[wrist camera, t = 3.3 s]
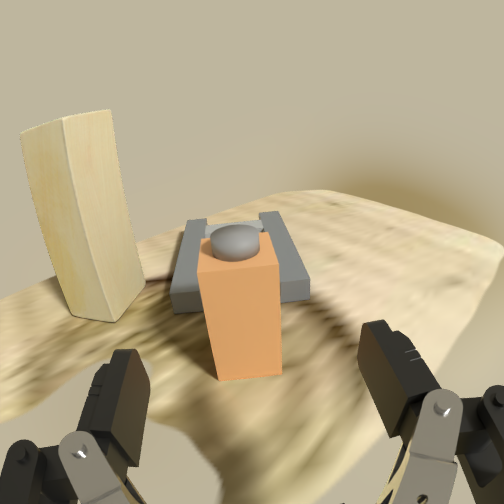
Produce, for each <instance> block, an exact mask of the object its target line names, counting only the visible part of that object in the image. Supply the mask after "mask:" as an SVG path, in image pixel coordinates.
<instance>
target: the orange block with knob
mask: <svg viewBox="0 0 504 504" xmlns="http://www.w3.org/2000/svg"><path fill="white" fill-rule="evenodd" d="M197 277H198V282H199V288H200V293H201V298H202V303H203V308H204V313H205V318H206V323H207V328H208V333H209V338H210V343H211V347H212V352H213V357H214V361H215V366H216V370H217V375H218V379H219V381H226V380H237V379H246V378H256V377H264V376H272V375H280V374H282V345H281V308H280V277H279V263H278V260H277V257H276V254H275V251H274V248H273V245H272V242H271V239H270V236H269V233H268V232H262V233H259V231H258V229H257V228H255V227H253V226H249V225H240V224H239V225H229V226H224V227H221V228H219V229H217V230H215V231H213V232H212V233H211V235H210V238H205V239H201V244H200V251H199V259H198V267H197Z"/></svg>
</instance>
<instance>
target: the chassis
mask: <svg viewBox="0 0 504 504" xmlns="http://www.w3.org/2000/svg"><path fill="white" fill-rule="evenodd" d="M239 224H240V225H249V226H253V227H255V228H257V229H258V231H259V233H262V232H268V233H269V236H270V239H271V242H272V245H273V248H274V251H275V254H276V257H277V260H278V263H279V277H280V303H284V302H292V301H300V300H308V299H310V277H309V275H308V273H307V271H306V269H305V266H304V264H303V262H302V260H301V258H300V256H299V254H298V251H297V249H296V247H295V245H294V243H293V241H292V239H291V237H290V235H289V232H288V230H287V228H286V226H285V224H284V222H283V220H282V218H281V216H280V214H279V212H278V211H273V212H263V213H259V220H254V221H244V222H235V223H225V224H216V225H207V218H205V219H196V220H188V221H187V224H186V227H185V231H184V235H183V239H182V243H181V247H180V251H179V255H178V259H177V263H176V267H175V271H174V275H173V280H172V284H171V288H170V293H169V295H170V299H171V303H172V307H173V311H174V314H177V313H189V312H200V311H204V308H203V303H202V298H201V293H200V288H199V282H198V277H197V267H198V259H199V251H200V244H201V239H205V238H210V235H211V233H212V232H213V231H215V230H217V229H219V228H221V227H224V226H229V225H239Z"/></svg>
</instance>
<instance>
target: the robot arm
mask: <svg viewBox="0 0 504 504" xmlns="http://www.w3.org/2000/svg"><path fill="white" fill-rule="evenodd" d="M357 359H358V365H359V369H360V371H361V373H362V376H363V378H364V380H365V382H366V385H367V387H368V389H369V391H370V394H371V396H372V398H373V400H374V403H375V405H376V407H377V410H378V412H379V414H380V416H381V419H382V421H383V423H384V426H385V428H386V431H387V433H388V435H389V437H390V438H392V437H396V436H399V435H400V436H401V438H402V441H403V442H402V444H401V446H400V449H399V452H398V455H397V458H396V460H395V463H394V465H393V468H392V470H391V473H390V475H389V478H388V480H387V483H386V485H385V487H384V489H383V491H382V493H381V495H380V497H379V498H378V500H377V502H376V504H448V503H449V499H450V496H451V492H452V489H453V485H454V481H455V478H456V473H457V463H456V462H454V455H457V457H458V459H459V461H460V464H461V467H462V469H463V471H464V474H465V476H466V479H467V482H468V484H469V487H470V489H471V492H472V494H473V497H474V500H475V503H476V504H504V386H501V385H495V386H492V387H489V388H488V389H487V390H486V392H485V394H484V395H483V397H476V398H459V396H458V395H457V394H455V393H454V392H452V391H450V390H446V389H442V388H441V387H440V385H439V384H438V382H437V381H436V379H435V377H434V376H433V374H432V373H431V371H430V369H429V368H428V366H427V365H426V363H425V362H424V360H423V359H421V356H420V354H419V352H418V351H417V350H416V348H415V346H414V345H413V343H412V342H411V340H410V339H409V338H408V337H407V336H405V335H404V334H402V333H401V332H400V331H393V332H392V330H391V329H390V327H389V326H388V324H387V323H386V321H385V320H377V321H372V322H367V323H364V324H363V325H362V329H361V336H360V342H359V348H358V355H357ZM91 386H92V387H90V390H89V393H88V397H87V399H86V402H85V405H84V408H83V411H82V414H81V417H80V420H79V424H78V427H77V430H76V431H75V432H72V433H70V434H68V435H67V436H65V437H64V438H63V440H62V441H61V443H60V445H56V446H50V447H44V448H38V447H37V446H36V445H35V444H34V443H33V442H32V441H29V440H19V441H17V442H15V443H14V444H13V445H12V446H11V447H10V448H9V450H8V452H7V455H6V459H5V462H4V465H3V469H2V472H1V476H0V504H77V501H78V499H79V500H80V502H81V504H146V502H145V501H144V500H143V498H142V497H141V495H140V494H139V492H138V491H137V490H136V488H135V487H134V485H133V484H132V482H131V481H130V479H129V478H128V477H127V468H128V466H129V467H139V459H140V452H141V445H142V439H143V432H144V426H145V420H146V414H147V408H148V403H149V397H150V381H149V378H148V375H147V373H146V371H145V368H144V366H143V363H142V361H141V359H140V356H139V354H138V352H137V350H136V349H116V350H115V351H114V352H113V355H112V358H111V361H110V364H103V365H102V366H101V368H100V369H99V370H98V371H97V372H96V373H95V376H94V379H93V381H92V384H91ZM343 504H344V503H343Z"/></svg>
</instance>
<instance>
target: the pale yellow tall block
mask: <svg viewBox="0 0 504 504" xmlns="http://www.w3.org/2000/svg"><path fill="white" fill-rule="evenodd" d="M20 140H21V146H22V152H23V157H24V162H25V167H26V171H27V176H28V181H29V186H30V190H31V194H32V198H33V202H34V205H35V209H36V213H37V216H38V220H39V223H40V226H41V230H42V234H43V237H44V240H45V243H46V246H47V249H48V253H49V256H50V258H51V261H52V264H53V267H54V270H55V273H56V276H57V278H58V281H59V284H60V286H61V289H62V291H63V294H64V297H65V299H66V302H67V304H68V307H69V309H70V311H71V313H72V314H73V315H74V316H77V317H82V318H87V319H93V320H99V321H106V322H116V321H117V320H118V319H119V318H120V317H121V315H122V314H123V313H124V312H125V310H126V309H127V308H128V307H129V305H130V304H131V303H132V302H133V300H134V299H135V298H136V297H137V295H138V294H139V293H140V292H141V291H142V289H143V288H144V287H145V278H144V274H143V271H142V267H141V263H140V259H139V255H138V251H137V247H136V243H135V239H134V235H133V230H132V226H131V222H130V217H129V213H128V208H127V203H126V198H125V193H124V188H123V183H122V177H121V172H120V166H119V160H118V154H117V148H116V141H115V134H114V127H113V120H112V113H111V111H110V109H105V110H99V111H93V112H87V113H81V114H76V115H71V116H67V117H63V118H59V119H56V120H53V121H50V122H47V123H44V124H42V125H39V126H37V127H33V128H31V129H28V130H26V131H23V132H21V133H20Z"/></svg>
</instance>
